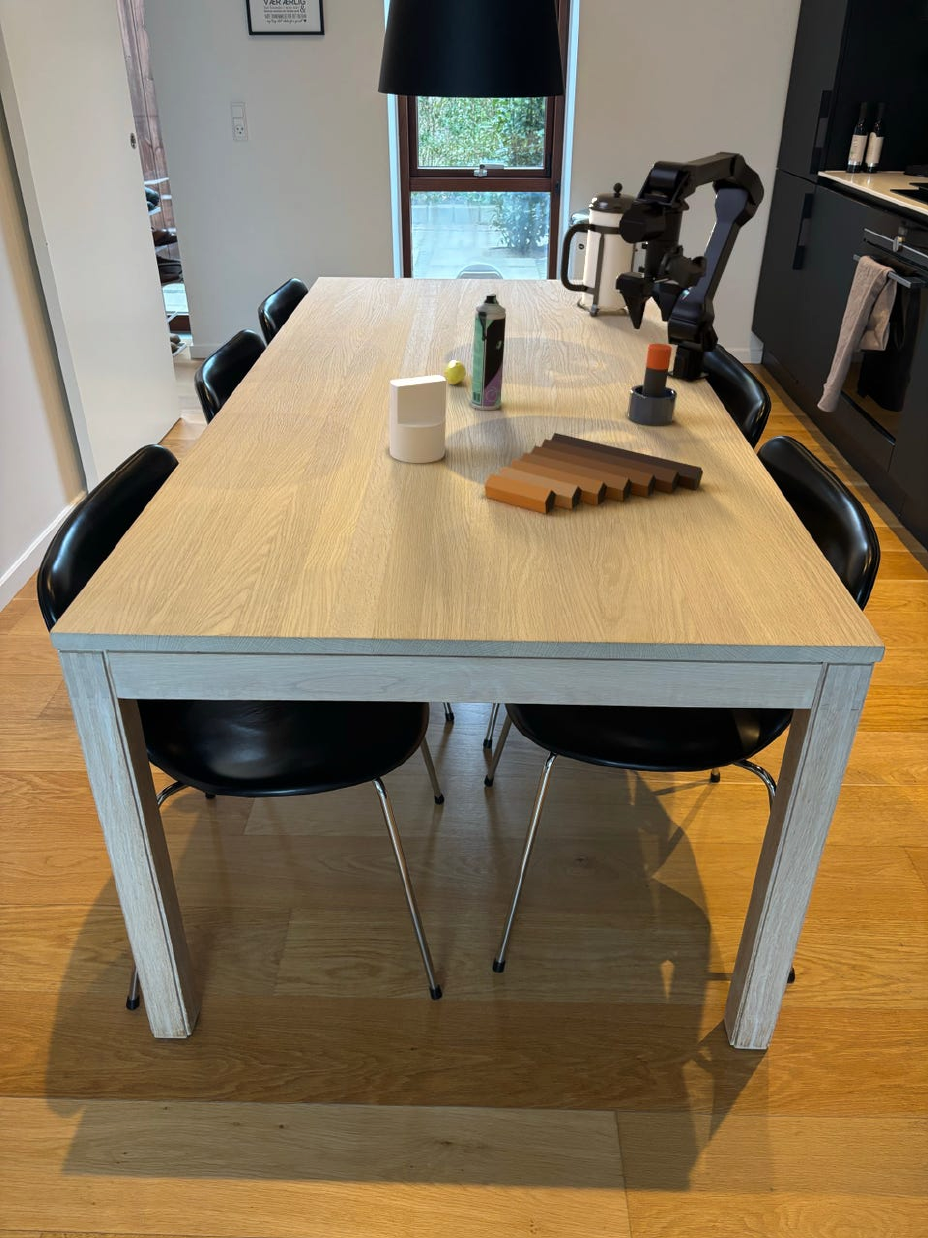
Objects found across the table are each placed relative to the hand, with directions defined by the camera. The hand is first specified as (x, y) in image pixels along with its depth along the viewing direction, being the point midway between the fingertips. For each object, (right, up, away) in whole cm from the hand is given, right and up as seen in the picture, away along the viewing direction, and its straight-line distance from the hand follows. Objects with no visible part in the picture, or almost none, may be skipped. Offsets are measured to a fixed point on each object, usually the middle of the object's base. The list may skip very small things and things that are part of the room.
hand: (651, 325), depth 183 cm
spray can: (-32, -16, -4) cm, 36 cm away
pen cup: (-1, -19, -6) cm, 20 cm away
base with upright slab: (-43, -29, -25) cm, 58 cm away
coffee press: (-1, +22, +62) cm, 66 cm away
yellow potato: (-37, -9, +8) cm, 39 cm away
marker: (-1, -18, -7) cm, 20 cm away
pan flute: (-16, -36, -36) cm, 53 cm away
